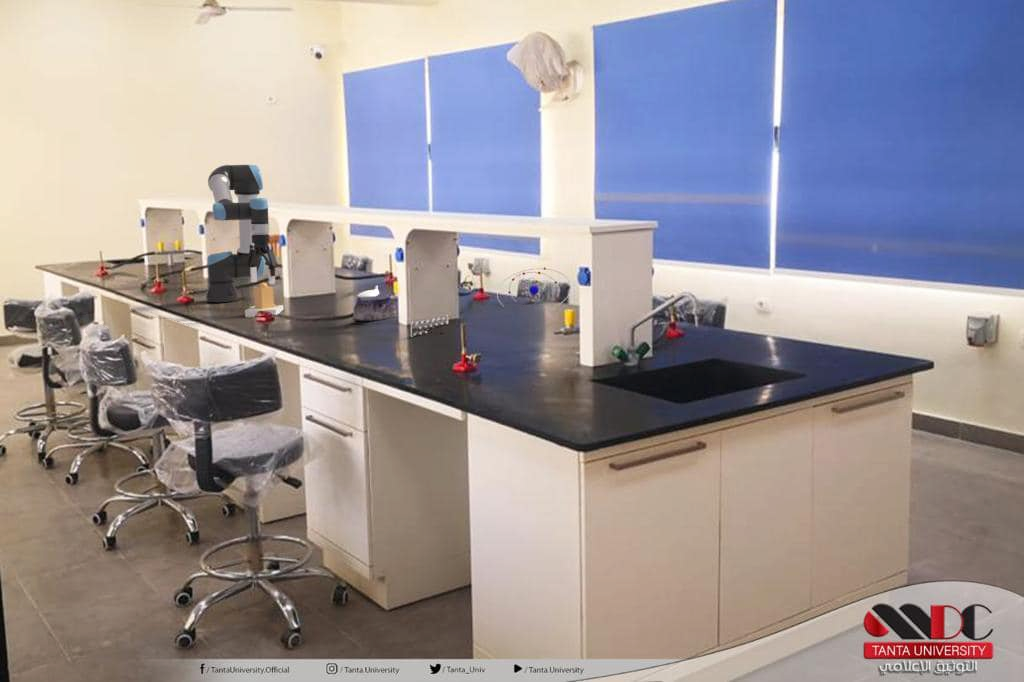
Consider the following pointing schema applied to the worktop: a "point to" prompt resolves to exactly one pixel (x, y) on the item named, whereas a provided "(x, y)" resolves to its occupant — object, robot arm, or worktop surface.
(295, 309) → the worktop surface
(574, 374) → the worktop surface
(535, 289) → the atomic model
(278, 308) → the block
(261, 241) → the robot arm
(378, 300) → the geode
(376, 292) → the driver head
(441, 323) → the molecular model
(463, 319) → the worktop surface
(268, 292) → the orange cube with dome
